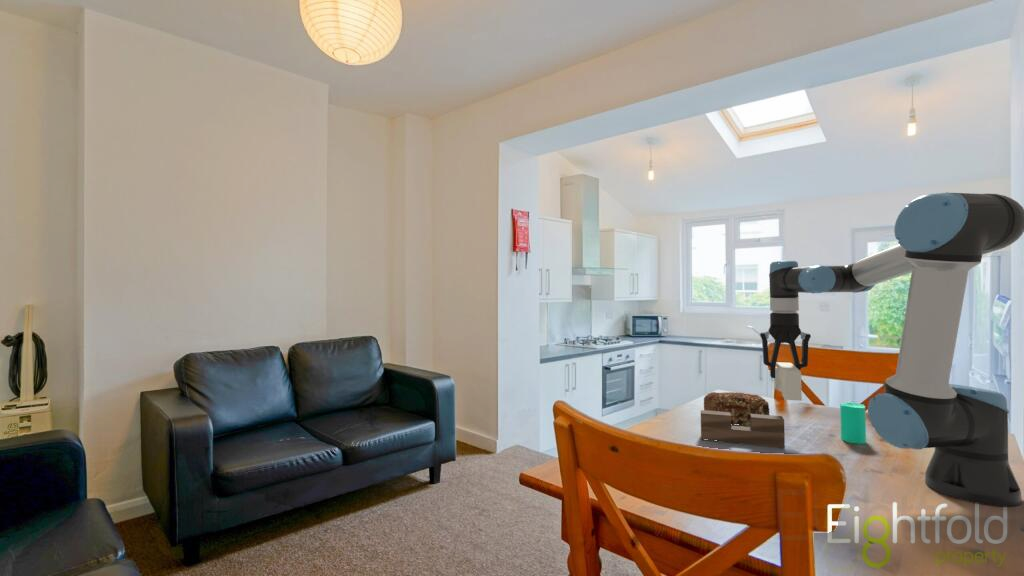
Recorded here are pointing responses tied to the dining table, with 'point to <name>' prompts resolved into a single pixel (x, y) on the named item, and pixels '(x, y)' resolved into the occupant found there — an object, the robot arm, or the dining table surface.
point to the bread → (736, 405)
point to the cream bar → (789, 381)
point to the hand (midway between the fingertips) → (785, 389)
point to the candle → (853, 423)
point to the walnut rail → (743, 429)
